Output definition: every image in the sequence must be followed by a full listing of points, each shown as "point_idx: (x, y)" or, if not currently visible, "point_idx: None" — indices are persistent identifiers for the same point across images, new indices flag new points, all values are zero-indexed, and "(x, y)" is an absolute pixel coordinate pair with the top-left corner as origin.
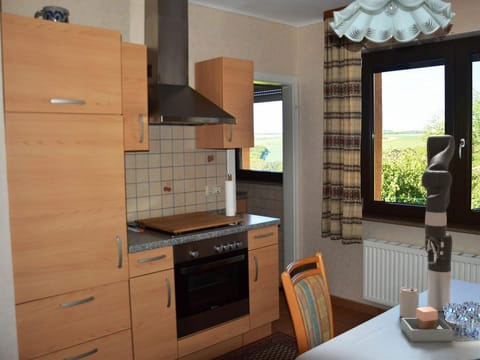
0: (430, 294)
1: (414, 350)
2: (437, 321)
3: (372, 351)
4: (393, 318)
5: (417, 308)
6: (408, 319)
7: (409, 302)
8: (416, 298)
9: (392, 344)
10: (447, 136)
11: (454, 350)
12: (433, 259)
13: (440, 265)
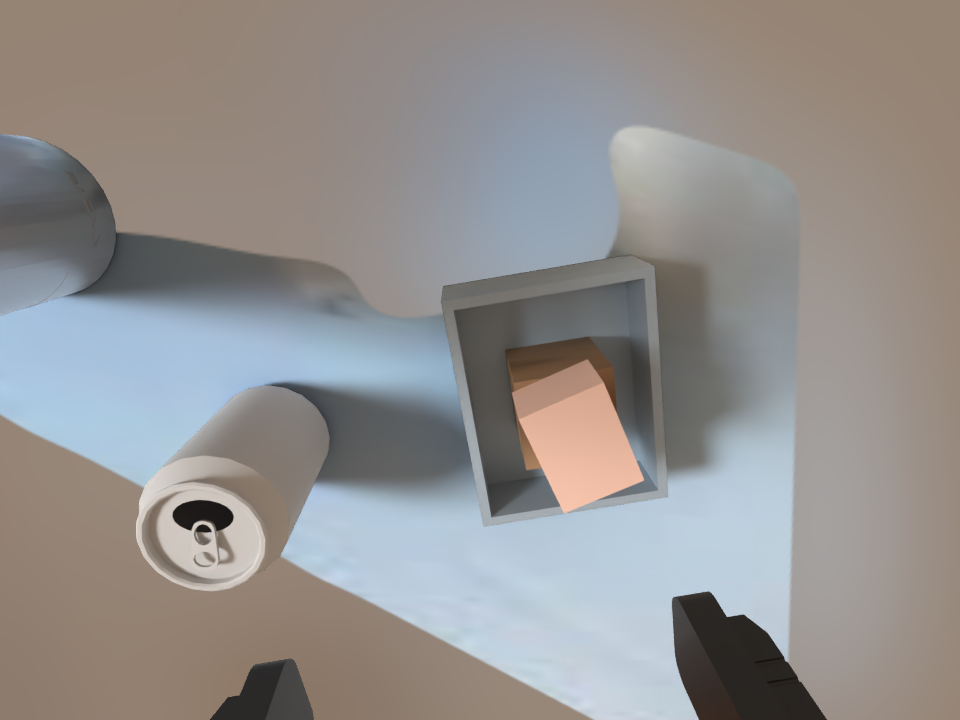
0: (10, 309)
1: (740, 460)
2: (456, 318)
3: (751, 619)
4: (327, 511)
5: (570, 507)
6: (486, 489)
7: (303, 495)
8: (273, 464)
9: (676, 543)
10: None
11: (738, 272)
12: (273, 702)
13: (758, 659)
